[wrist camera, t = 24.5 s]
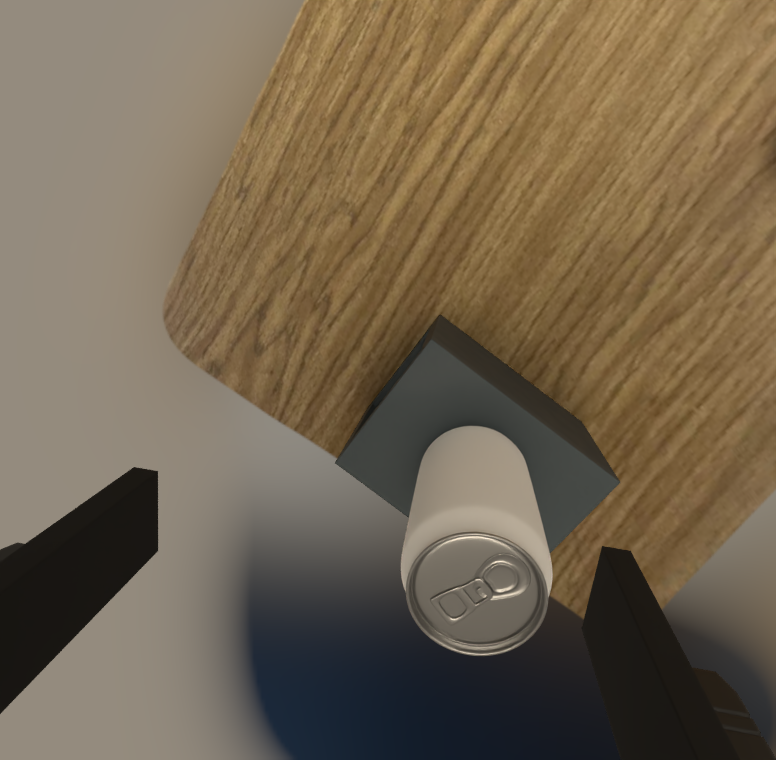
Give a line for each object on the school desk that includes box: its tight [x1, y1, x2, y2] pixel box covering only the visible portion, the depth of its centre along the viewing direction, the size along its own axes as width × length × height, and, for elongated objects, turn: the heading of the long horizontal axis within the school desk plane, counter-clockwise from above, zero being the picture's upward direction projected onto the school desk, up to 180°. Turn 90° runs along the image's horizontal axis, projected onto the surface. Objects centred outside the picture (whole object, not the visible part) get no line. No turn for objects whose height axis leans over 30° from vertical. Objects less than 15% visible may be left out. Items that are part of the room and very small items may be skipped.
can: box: [401, 426, 552, 656], centre depth 27 cm, size 6×6×12 cm
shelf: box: [335, 315, 620, 553], centre depth 39 cm, size 14×10×11 cm
